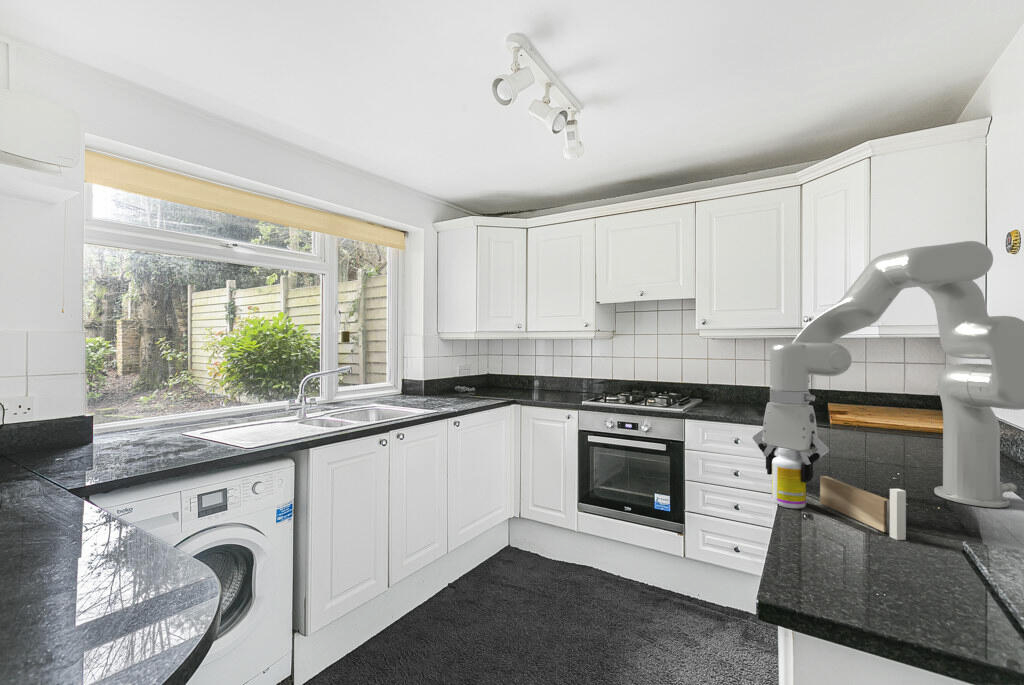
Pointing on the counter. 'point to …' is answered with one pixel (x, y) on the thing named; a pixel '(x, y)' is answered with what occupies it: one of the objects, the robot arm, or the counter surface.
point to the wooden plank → (856, 503)
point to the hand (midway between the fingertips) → (788, 476)
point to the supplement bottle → (788, 479)
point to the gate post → (898, 514)
